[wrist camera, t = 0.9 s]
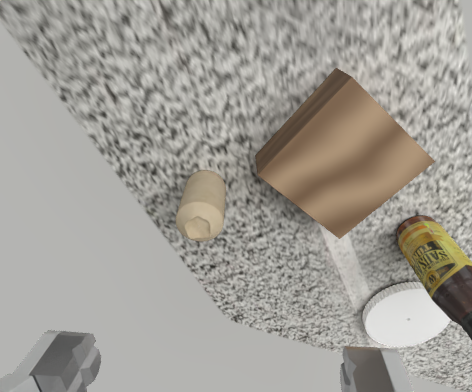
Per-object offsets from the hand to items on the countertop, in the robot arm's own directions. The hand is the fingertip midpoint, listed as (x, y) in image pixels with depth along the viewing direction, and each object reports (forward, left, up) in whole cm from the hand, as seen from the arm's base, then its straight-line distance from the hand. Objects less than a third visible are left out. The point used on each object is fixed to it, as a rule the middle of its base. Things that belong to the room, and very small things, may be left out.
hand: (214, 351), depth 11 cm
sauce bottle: (+33, +3, -34) cm, 47 cm away
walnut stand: (+14, +4, -34) cm, 36 cm away
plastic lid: (+45, -8, -34) cm, 57 cm away
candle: (+5, -11, -34) cm, 36 cm away
